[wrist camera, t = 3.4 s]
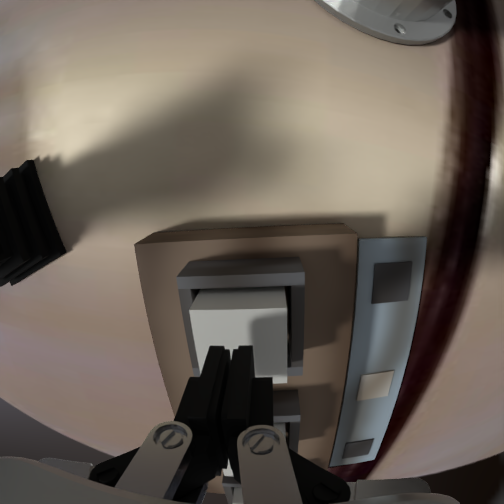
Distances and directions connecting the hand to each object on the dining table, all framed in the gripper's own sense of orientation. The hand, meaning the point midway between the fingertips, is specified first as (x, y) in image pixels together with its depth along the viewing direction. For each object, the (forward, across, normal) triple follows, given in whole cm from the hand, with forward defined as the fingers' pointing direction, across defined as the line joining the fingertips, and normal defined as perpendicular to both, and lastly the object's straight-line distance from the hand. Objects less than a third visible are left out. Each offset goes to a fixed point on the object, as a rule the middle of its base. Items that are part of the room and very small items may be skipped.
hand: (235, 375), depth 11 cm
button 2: (+4, 0, 0) cm, 4 cm away
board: (+8, -3, +9) cm, 13 cm away
